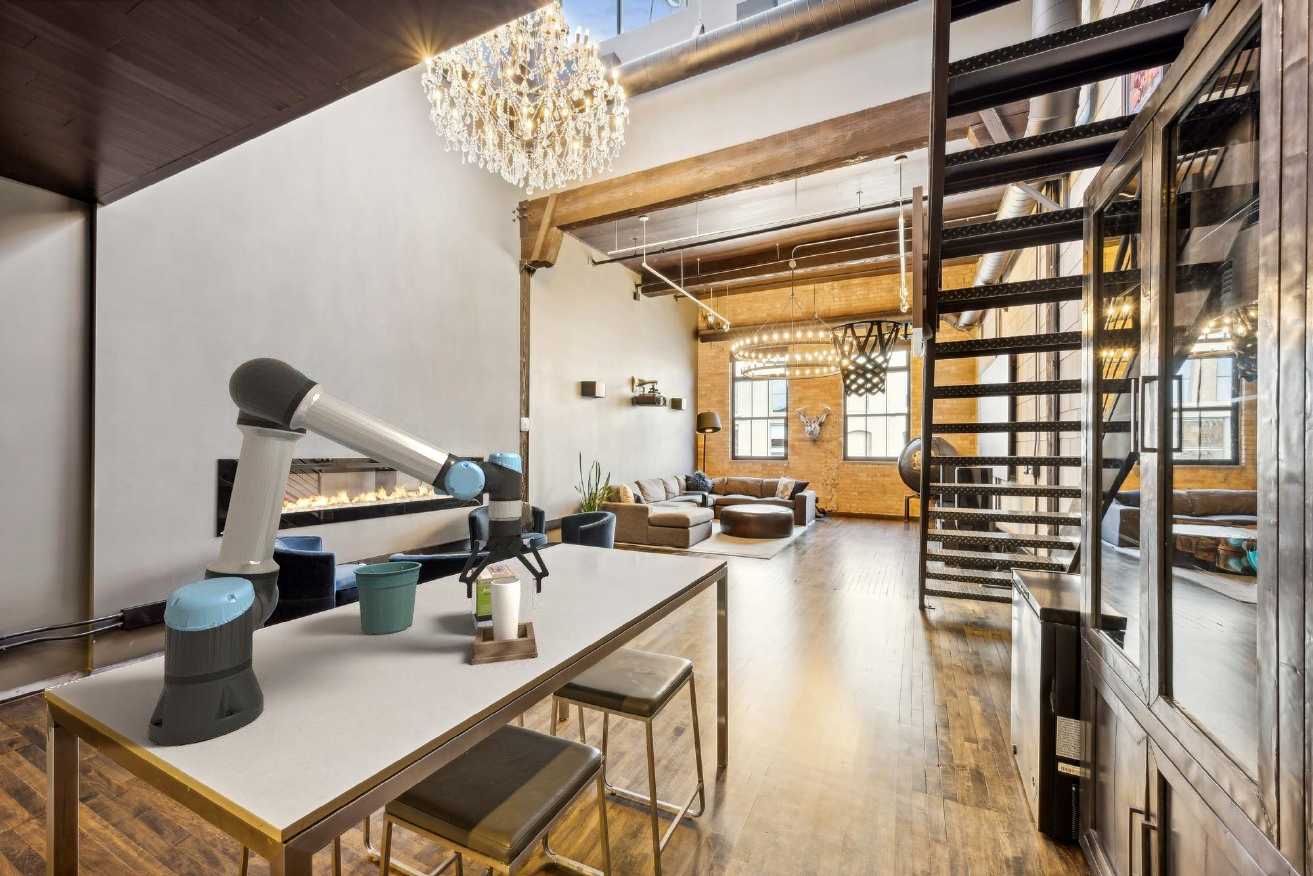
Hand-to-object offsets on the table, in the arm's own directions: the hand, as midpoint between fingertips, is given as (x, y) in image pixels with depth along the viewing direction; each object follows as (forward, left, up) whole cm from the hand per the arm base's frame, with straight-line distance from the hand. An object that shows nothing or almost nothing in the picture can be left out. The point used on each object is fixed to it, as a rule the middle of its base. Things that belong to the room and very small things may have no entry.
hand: (504, 609), depth 124 cm
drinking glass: (0, 0, -9) cm, 9 cm away
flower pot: (-30, +27, -10) cm, 41 cm away
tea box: (-3, +20, -10) cm, 22 cm away
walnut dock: (0, 0, -9) cm, 9 cm away
